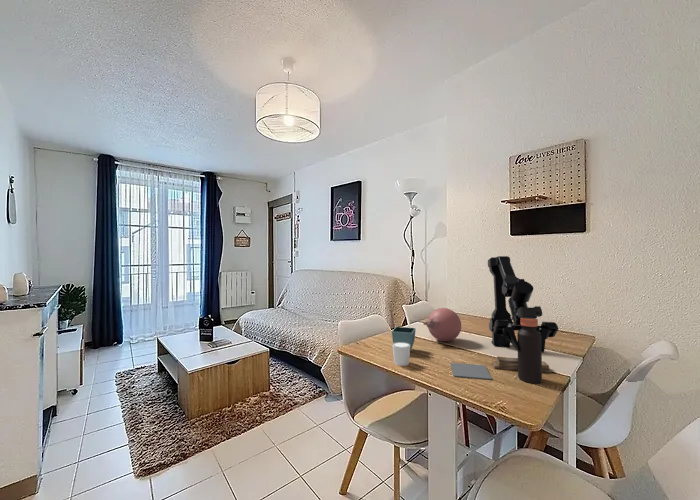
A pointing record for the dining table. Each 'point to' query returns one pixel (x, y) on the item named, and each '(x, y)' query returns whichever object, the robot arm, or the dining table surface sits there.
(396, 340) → the flower pot
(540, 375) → the dark water bottle
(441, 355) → the dining table surface
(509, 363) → the offcut stack
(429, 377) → the dining table surface
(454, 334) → the pink onion-shaped ball
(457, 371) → the grey mat
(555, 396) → the dining table surface
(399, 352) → the white cylinder
